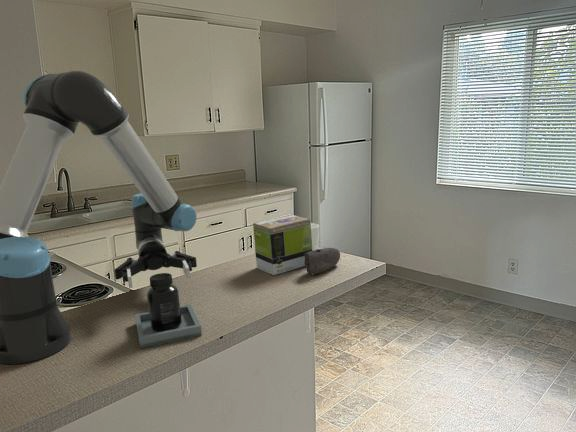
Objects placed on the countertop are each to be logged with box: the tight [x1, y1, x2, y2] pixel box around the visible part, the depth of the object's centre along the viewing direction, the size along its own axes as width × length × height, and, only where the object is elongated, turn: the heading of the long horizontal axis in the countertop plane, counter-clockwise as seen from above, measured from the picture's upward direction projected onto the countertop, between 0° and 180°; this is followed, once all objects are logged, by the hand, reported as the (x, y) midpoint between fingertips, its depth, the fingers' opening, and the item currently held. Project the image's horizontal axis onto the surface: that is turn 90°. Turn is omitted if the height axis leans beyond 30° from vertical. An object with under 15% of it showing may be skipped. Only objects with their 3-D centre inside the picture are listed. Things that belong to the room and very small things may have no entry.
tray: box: [134, 304, 203, 349], centre depth 107 cm, size 13×13×2 cm
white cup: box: [310, 222, 320, 251], centre depth 155 cm, size 8×8×10 cm
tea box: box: [252, 214, 312, 276], centre depth 145 cm, size 15×10×15 cm, turn 124°
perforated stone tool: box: [304, 247, 341, 276], centre depth 141 cm, size 15×5×7 cm, turn 132°
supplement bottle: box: [146, 272, 182, 332], centre depth 106 cm, size 7×7×12 cm
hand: (159, 277), depth 114 cm, fingers open, 13 cm apart
